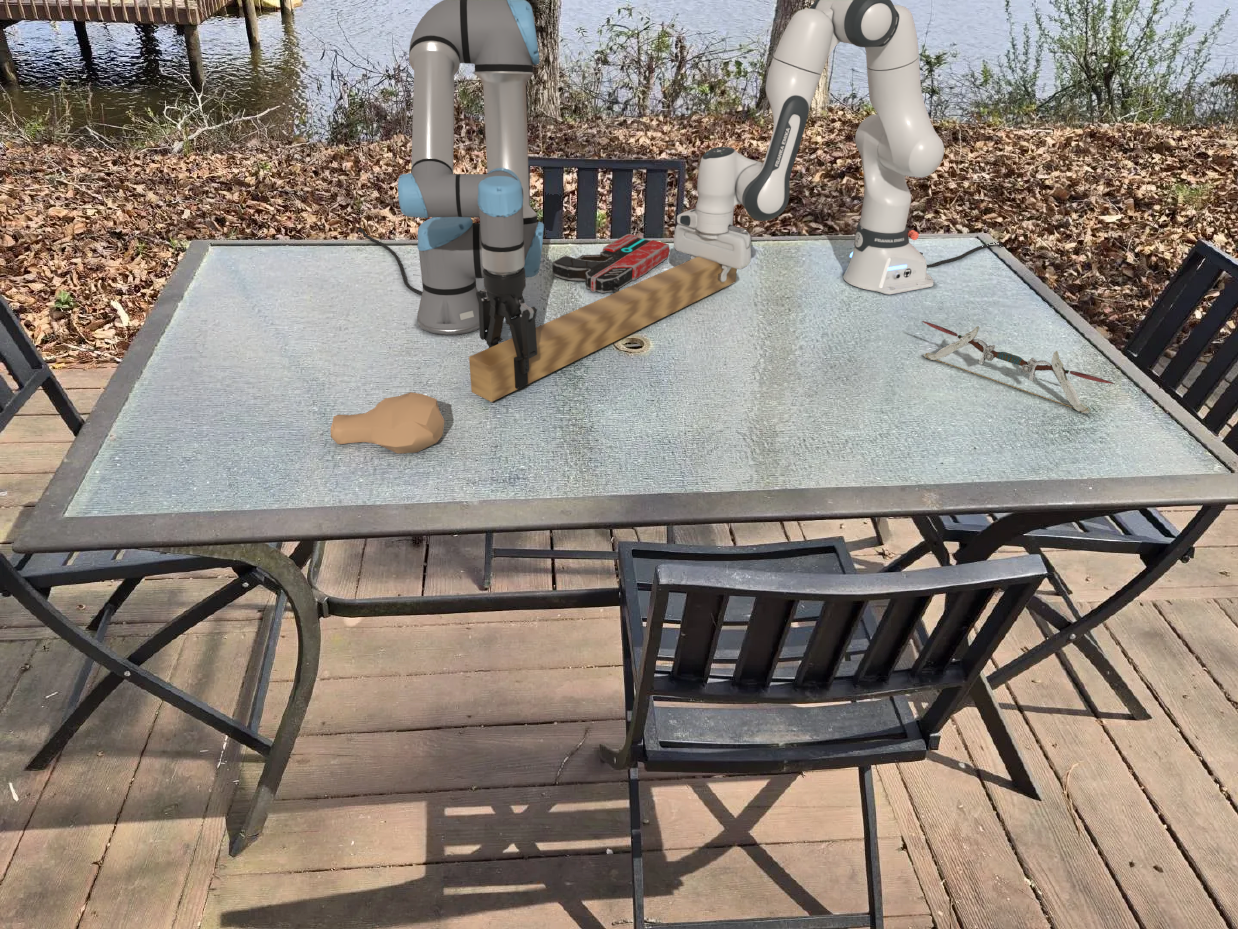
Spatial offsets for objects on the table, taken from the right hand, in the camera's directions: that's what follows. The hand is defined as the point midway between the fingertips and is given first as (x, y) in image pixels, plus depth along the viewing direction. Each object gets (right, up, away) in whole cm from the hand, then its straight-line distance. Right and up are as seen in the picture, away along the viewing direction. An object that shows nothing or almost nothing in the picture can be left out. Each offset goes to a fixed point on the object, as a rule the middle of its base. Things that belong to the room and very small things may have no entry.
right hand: (709, 276), depth 212 cm
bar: (-22, -16, -20) cm, 33 cm away
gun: (-24, +5, +13) cm, 28 cm away
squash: (-62, -42, -58) cm, 95 cm away
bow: (+56, -29, -33) cm, 72 cm away
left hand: (-43, -29, -42) cm, 67 cm away
